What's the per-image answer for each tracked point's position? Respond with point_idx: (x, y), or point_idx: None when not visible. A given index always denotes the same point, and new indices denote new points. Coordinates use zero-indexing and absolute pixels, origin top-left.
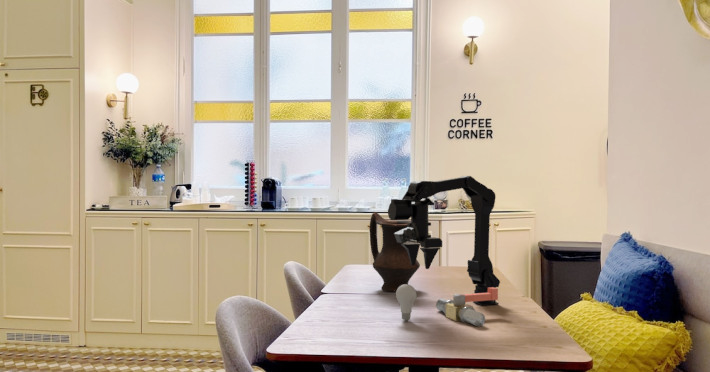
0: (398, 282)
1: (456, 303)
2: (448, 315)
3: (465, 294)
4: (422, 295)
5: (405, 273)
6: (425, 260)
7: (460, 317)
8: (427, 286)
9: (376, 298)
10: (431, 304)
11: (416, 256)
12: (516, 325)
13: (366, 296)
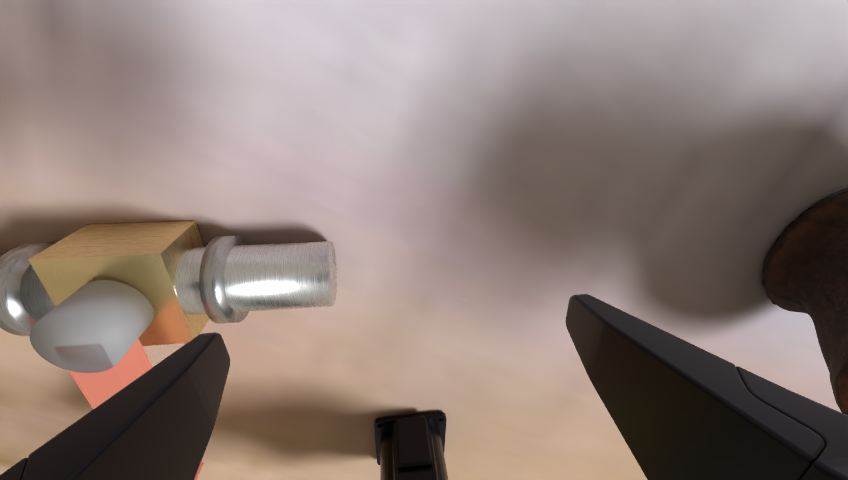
0: (830, 265)
1: (75, 291)
2: (159, 227)
3: (111, 381)
4: (652, 305)
5: (846, 322)
6: (80, 430)
7: (32, 245)
8: (765, 378)
9: (754, 59)
10: (477, 270)
11: (629, 437)
12: (17, 401)
13: (841, 21)
